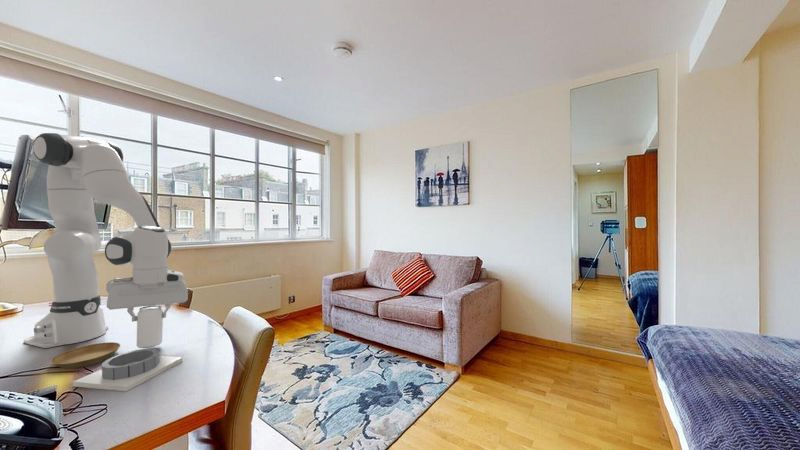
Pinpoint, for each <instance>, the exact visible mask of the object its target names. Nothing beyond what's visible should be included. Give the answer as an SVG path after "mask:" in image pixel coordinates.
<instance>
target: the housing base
mask: <svg viewBox="0 0 800 450" xmlns="http://www.w3.org/2000/svg"><path fill="white" fill-rule="evenodd" d="M183 359H184V358H183V357H182V356H167V355H160V351H159V350H158V349H157V348H140V349H135V350H130V351H126V352H122V353H120V354H116V355H114V356H111V357H109V358H108V359H106V360H104V361H102V363H101V369H99V370H96V371H94V372H92V373H89V374H88V375H85V376H83V377H81V378H78V379H76V380H73V381H72V387H75V388H76V387H77V388H85V389H86V388H87V389H97V390H98V389H99V390H105V391H116V392H117V391H118V392H128V391H129V390H132V389H134V388H136V387H137V386H139V385H141V384H143V383H145V382H147V381H148V380H151V379H152V378H154V377H156V376H158V375H160V374H162V373H164V372H165V371H168V370H169V369H171V368H173V367H175V366H177V365H179V364H181V363H183V361H184V360H183Z"/></svg>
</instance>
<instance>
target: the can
mask: <svg viewBox="0 0 800 450" xmlns="http://www.w3.org/2000/svg"><path fill="white" fill-rule="evenodd" d="M162 308H163V307H162V305H152V306H142V307H139V310H138V313H137V315H138V321H136V347H137V348H139V349H150V348H153V347H156V346H159V345H160V344H162V343H163V329H164V328H163V326H164V321H163V320H164V318H162V312H163V311H164V310H163V309H162Z"/></svg>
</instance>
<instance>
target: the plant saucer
mask: <svg viewBox="0 0 800 450" xmlns="http://www.w3.org/2000/svg"><path fill="white" fill-rule="evenodd" d="M120 347H121V344H120V343H119V342H112V341H111V342H110V341H107V342H99V343H93V344H88V345H83V346H79V347H76V348H72V349H70V350H66V351H63V352H61V353H59V354H57V355H55V356H54V357H52V358H51V359H50V363H51V364H53V365H54V366H56V367H59V368H61V369H65V370H66V369H78V368H79V369H80V368H82V367H87V366H91V365H95V364H98V363H101V362H105V361H106V360H107V359H109V358H111V357H113V355H115V353H116V352H117V351H118V350H119V349H120Z"/></svg>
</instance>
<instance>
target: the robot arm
mask: <svg viewBox="0 0 800 450" xmlns="http://www.w3.org/2000/svg"><path fill="white" fill-rule="evenodd" d="M32 149H33V154H34V156H35V158H36V159H37V160H38V161H40V162H41V164H45V165H48V168H47V174H46V194H47V203H48V213H49V215H50V217H51V219H52V221H53V224H54V228H55V231H56V232H55V233H52V234H51V235H50V236H49V237H48V238H47V239H46V240H45V241H44V244H43V252H44V253H45V254H46V256H47V261H48V264H49V265H48V266H49V268H50V271H51V276H52V281H53V283H52V284H53V301H52V302H49V303H48V307H50V309H49V313H47V314H46V316H44V317H43V318H41V319H40V320H39V321H37V322H36V323H35V324H34V328H33V332H34V333H33V335H32V336H29V337H27V338H26V339H24V340H23V343H24V344H27V345H31V346H35V347H37V348H38V347H39V348H42V349H47V348H53V347H58V346H65V345H72V344H76V343H82V342H87V341H89V340H92V339H95V338H98V337H101V336H103V335H105V334H106V332H107V330H109V326H108V325H106V321H105V313H104V309H103V308H102V307H101V305H102V304H101V303H102V299H101V295H100V294H99V274H98V272H97V269H96V263H95V259H94V255H95V254H96V253H98V251H99V250H100V249H101V246H102V240H101V235H100V229H99V225H98V221H97V218H96V214H95V204H94V200H96V201H98V202H99V203H103V204H105V205H109V206H112V207H114V208H116V209H119V210H122V211H124V212H125V213H127V214H128V215H130V216H131V218H133V221H134V223H135V224H136V227H135V228H134V230H132V231H131V232H129V233H128V232H127V233H126V234H122V235H119V236H113V237H112V238H110V239H109V240H108V241H107V243H106V245H105V248H104V254H105V255H104V256H105V258H106V260H107V261H108V262H109V263H111V264H112V265H114V266H131V265H132V276H131V277H122V278H121V277H120V278H119V277H118V278H117V277H116V278H113V279H110V280H108V282H107V283H106V289H105V290H106V291H105V292H107V293H108V295H107V298H106V299H107V300H106V308H108V310H110V311H111V310H112V311H113V310H121V309H122V310H123V309H127V311H126V312H127V313H128V314H129V315H130V317H131V322H137V321H138V315H137V314H138V313H137V314H135V312H134V310H135V308H142V307H146V306H155V305H159V306H162V305H164V308H165V309H164V310H163V312H162V318H163V319H165V318H166V317H167V312H168V310H170V309H171V304H181V303H186V302H187V301H188V299H189V298H188V297H189V295H188V287H187V283H186V281H185V280H184V279H185V278H184V277H185V275H184V273H183V272H181V271H178V270H177V271H176V270H171V269H169V268H168V267H169V264H168V262H167V258H168V257H169V256H170V254H171V252H172V243H171V241H170V240H169V238H168V233H167V231H166V229H164V228H163V227H160V224H159V223H158V220H157V218H156V216H155V215H154V212H153V211H152V208H151V206H150V205H149V203H148V201H147V199H146V198H145V197H144V196H143V194H141V193H140V192H139V191H138V189H136V188H135V186H134V184H132V182H131V179H130V178H129V176H128V173H127V170H126V167H125V165H124V152H123V151H122V148H120V146H119V145H117V144H115V143H113V142H111V141H107V140H100V139H96V138H92V137H86V136H80V135H78V136H76V135H70V134H60V133H55V132H45V133H40V134H39V135H38V136H36V137H35V139H34V140H33V147H32Z"/></svg>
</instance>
